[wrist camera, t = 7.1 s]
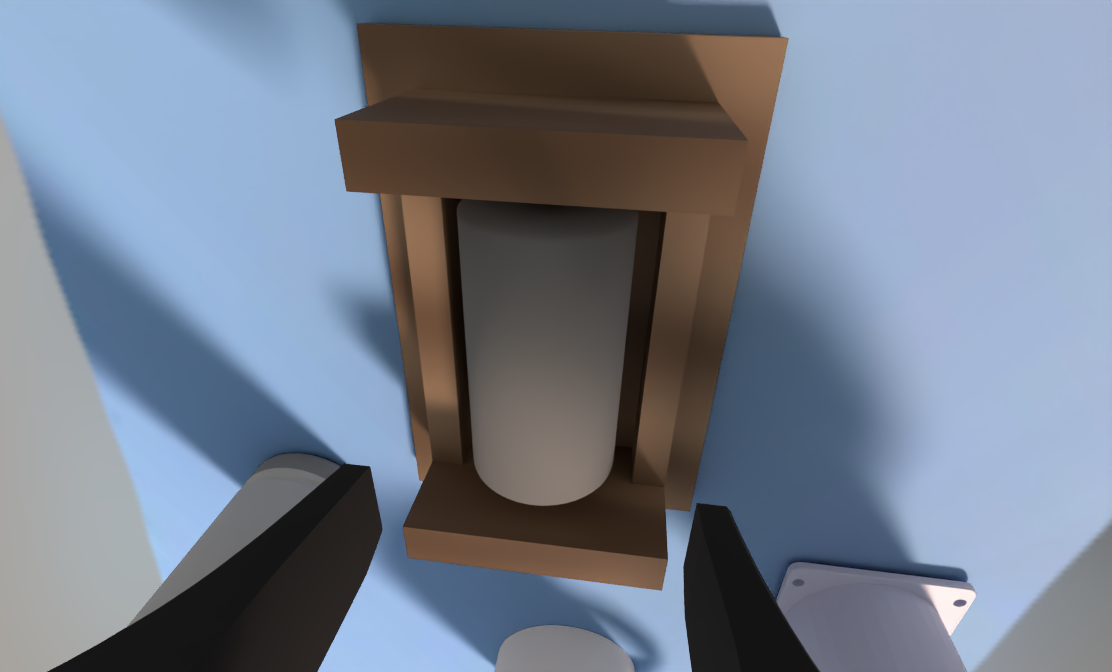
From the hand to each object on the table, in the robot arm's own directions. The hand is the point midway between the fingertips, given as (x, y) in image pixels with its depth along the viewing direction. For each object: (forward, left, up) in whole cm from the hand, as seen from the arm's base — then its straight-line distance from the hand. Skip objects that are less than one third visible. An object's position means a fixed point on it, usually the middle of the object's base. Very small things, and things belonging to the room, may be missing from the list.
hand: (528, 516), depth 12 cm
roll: (0, 0, -9) cm, 9 cm away
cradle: (0, +1, -10) cm, 10 cm away
